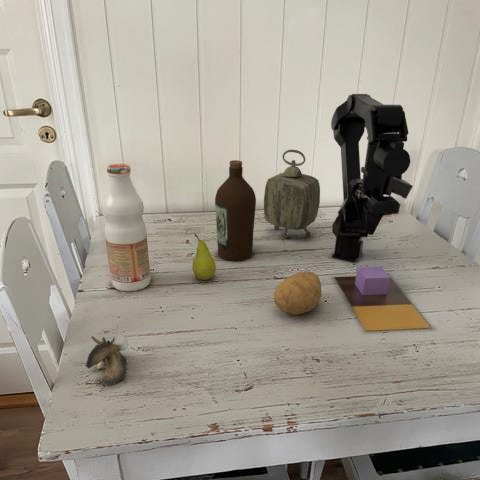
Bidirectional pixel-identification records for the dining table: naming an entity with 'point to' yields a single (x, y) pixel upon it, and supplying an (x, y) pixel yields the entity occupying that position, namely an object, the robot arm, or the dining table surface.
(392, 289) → the board
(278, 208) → the tabletop clock
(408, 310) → the pad
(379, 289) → the block
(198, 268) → the fruit
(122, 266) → the fruit juice
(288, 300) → the potato
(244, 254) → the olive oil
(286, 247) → the dining table surface
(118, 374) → the brown animal figurine
